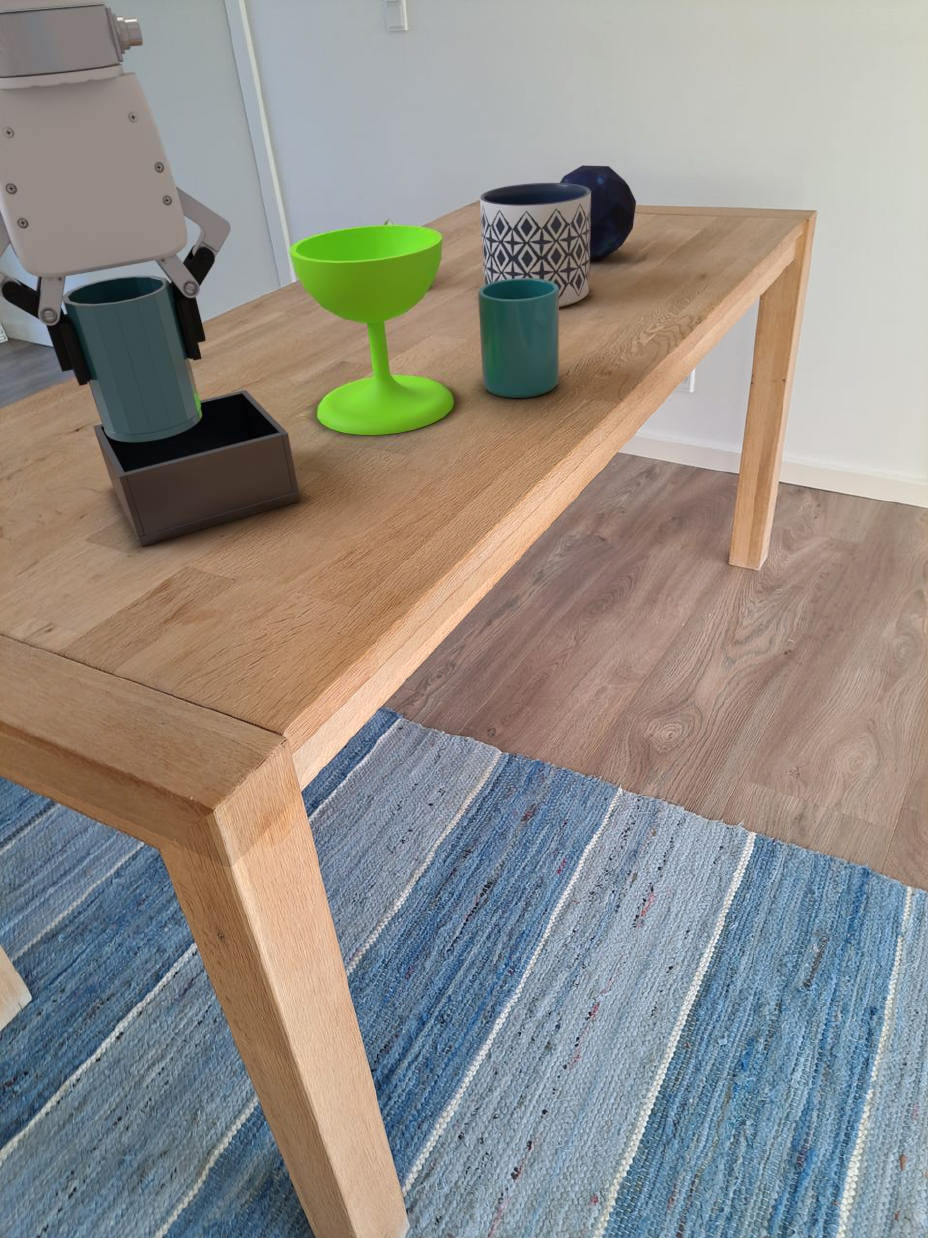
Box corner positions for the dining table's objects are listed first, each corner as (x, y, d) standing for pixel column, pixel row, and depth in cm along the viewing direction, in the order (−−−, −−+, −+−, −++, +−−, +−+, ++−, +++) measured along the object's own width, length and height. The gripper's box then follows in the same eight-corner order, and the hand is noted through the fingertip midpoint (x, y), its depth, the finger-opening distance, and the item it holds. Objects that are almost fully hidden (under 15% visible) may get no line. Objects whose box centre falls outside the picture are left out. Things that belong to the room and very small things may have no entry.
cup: (571, 365, 110) (572, 271, 103) (548, 402, 101) (547, 301, 94) (502, 361, 113) (498, 269, 106) (473, 397, 103) (467, 299, 97)
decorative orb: (608, 241, 138) (634, 146, 137) (522, 235, 145) (547, 144, 144) (633, 279, 151) (657, 192, 150) (553, 272, 157) (575, 189, 157)
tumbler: (113, 451, 58) (69, 312, 53) (98, 417, 63) (56, 287, 58) (212, 426, 60) (179, 291, 55) (190, 396, 65) (157, 269, 60)
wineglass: (369, 373, 112) (349, 221, 101) (479, 391, 105) (470, 229, 94) (288, 421, 101) (257, 256, 90) (404, 444, 94) (385, 267, 83)
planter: (468, 308, 132) (462, 203, 124) (505, 279, 144) (502, 181, 135) (571, 314, 126) (572, 205, 118) (601, 283, 138) (604, 182, 130)
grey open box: (141, 547, 80) (118, 476, 75) (114, 490, 89) (93, 425, 85) (300, 500, 85) (287, 432, 81) (259, 452, 95) (245, 389, 90)
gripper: (187, 35, 55) (247, 325, 65) (-126, 65, 49) (-4, 379, 59) (217, 36, 49) (278, 354, 60) (-131, 70, 43) (5, 416, 54)
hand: (137, 364), depth 59 cm, fingers closed on tumbler, 6 cm apart
